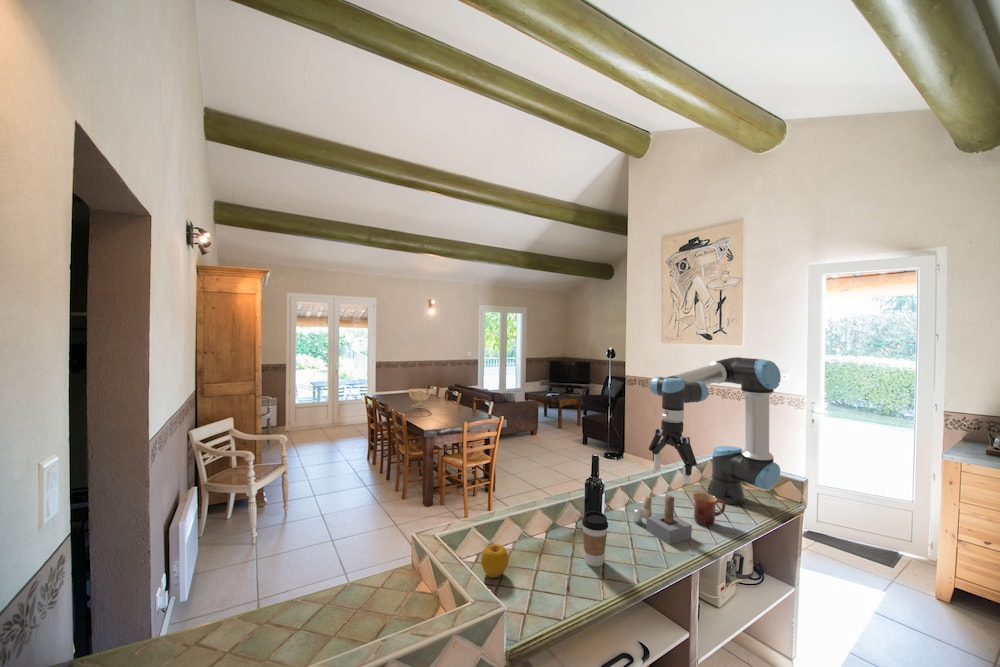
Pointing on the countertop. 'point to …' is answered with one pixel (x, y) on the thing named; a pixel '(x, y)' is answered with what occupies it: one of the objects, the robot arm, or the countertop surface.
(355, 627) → the countertop surface
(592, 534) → the coffee cup
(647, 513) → the beech pin
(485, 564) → the apple
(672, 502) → the walnut pin
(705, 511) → the mug
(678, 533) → the hole block
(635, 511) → the steel pin
